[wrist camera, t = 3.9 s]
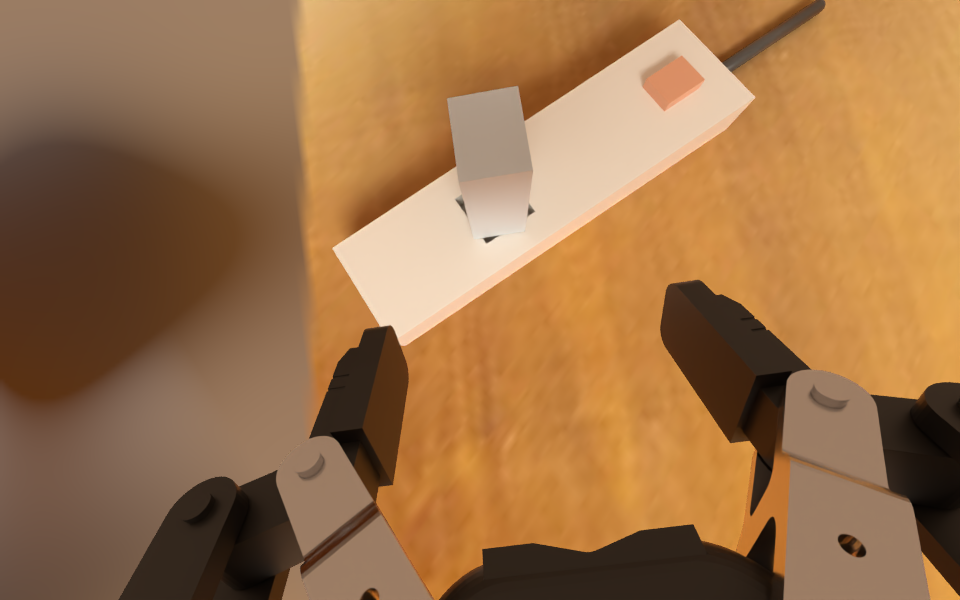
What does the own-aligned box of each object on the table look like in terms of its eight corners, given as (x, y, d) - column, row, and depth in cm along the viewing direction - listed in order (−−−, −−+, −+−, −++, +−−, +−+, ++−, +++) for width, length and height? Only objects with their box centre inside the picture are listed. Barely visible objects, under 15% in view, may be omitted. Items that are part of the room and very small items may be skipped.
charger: (467, 189, 28) (446, 98, 18) (514, 181, 28) (517, 85, 18) (475, 246, 27) (458, 182, 17) (523, 239, 27) (533, 170, 17)
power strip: (781, -23, 31) (825, -84, 27) (853, 43, 30) (910, -11, 25) (352, 261, 30) (326, 244, 25) (405, 346, 28) (386, 342, 24)
